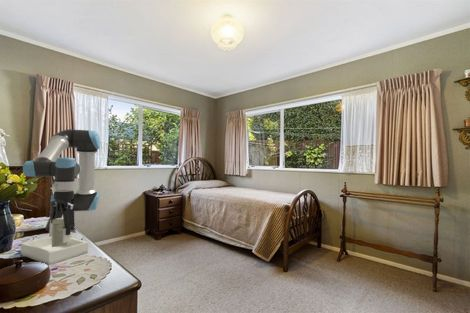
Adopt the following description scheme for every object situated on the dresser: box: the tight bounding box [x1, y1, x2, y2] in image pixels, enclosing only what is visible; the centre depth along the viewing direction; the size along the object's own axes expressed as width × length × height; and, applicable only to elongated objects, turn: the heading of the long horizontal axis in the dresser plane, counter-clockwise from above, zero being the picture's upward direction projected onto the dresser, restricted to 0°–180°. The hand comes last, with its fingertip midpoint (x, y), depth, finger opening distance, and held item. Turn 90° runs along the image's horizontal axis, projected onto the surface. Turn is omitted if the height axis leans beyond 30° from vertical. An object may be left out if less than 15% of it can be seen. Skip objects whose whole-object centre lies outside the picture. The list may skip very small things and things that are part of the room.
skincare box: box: [52, 218, 72, 247], centre depth 107 cm, size 6×4×12 cm
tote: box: [19, 236, 89, 266], centre depth 109 cm, size 16×24×5 cm, turn 64°
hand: (61, 240), depth 107 cm, fingers closed on skincare box, 7 cm apart
